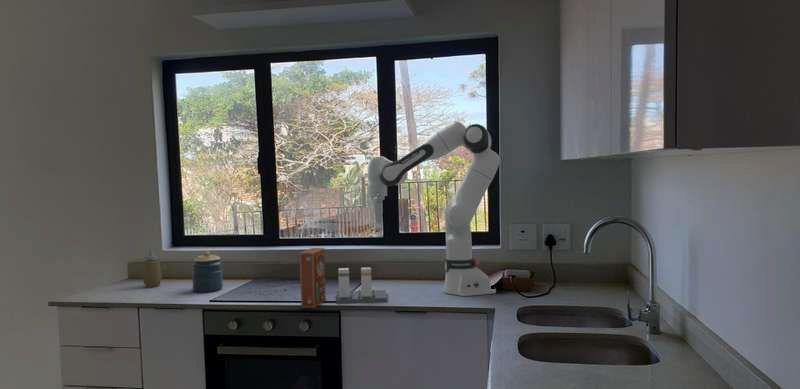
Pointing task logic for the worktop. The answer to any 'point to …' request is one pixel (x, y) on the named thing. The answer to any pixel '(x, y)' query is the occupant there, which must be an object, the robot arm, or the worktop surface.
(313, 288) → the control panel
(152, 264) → the squeeze bottle
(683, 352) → the worktop surface
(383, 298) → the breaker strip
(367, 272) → the breaker toggle
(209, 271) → the canister
